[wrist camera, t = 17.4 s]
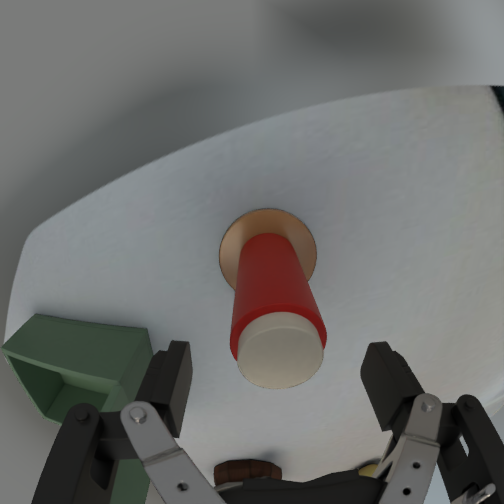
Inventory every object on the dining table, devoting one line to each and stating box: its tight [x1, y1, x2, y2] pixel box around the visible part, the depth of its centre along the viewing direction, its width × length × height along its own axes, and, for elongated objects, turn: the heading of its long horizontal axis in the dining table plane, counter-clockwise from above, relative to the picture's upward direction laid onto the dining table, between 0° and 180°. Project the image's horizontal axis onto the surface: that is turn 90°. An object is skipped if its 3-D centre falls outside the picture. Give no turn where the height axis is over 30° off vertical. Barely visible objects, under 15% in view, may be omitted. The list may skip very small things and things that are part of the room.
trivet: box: [219, 208, 317, 290], centre depth 23 cm, size 8×8×1 cm
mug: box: [214, 460, 282, 493], centre depth 30 cm, size 16×12×15 cm
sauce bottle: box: [230, 233, 327, 389], centre depth 17 cm, size 5×5×12 cm
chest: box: [1, 314, 153, 426], centre depth 25 cm, size 17×12×8 cm
